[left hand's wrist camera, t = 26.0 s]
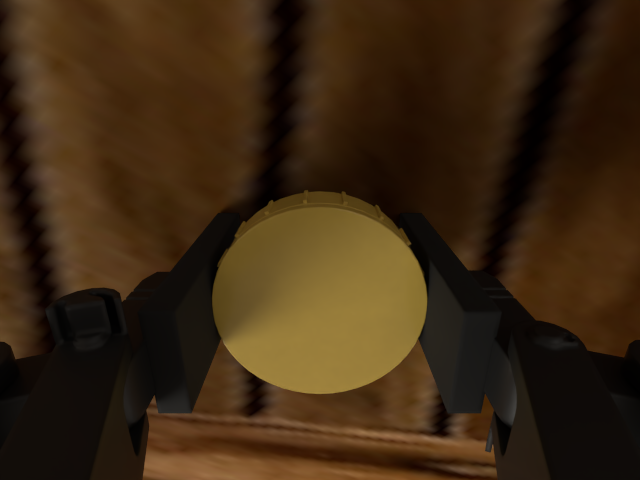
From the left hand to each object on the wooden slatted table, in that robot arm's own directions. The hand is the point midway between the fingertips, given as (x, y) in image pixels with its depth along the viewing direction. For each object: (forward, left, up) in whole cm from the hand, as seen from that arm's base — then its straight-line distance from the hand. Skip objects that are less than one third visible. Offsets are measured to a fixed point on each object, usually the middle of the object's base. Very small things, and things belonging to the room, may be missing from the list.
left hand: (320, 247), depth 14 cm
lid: (0, 0, +4) cm, 4 cm away
